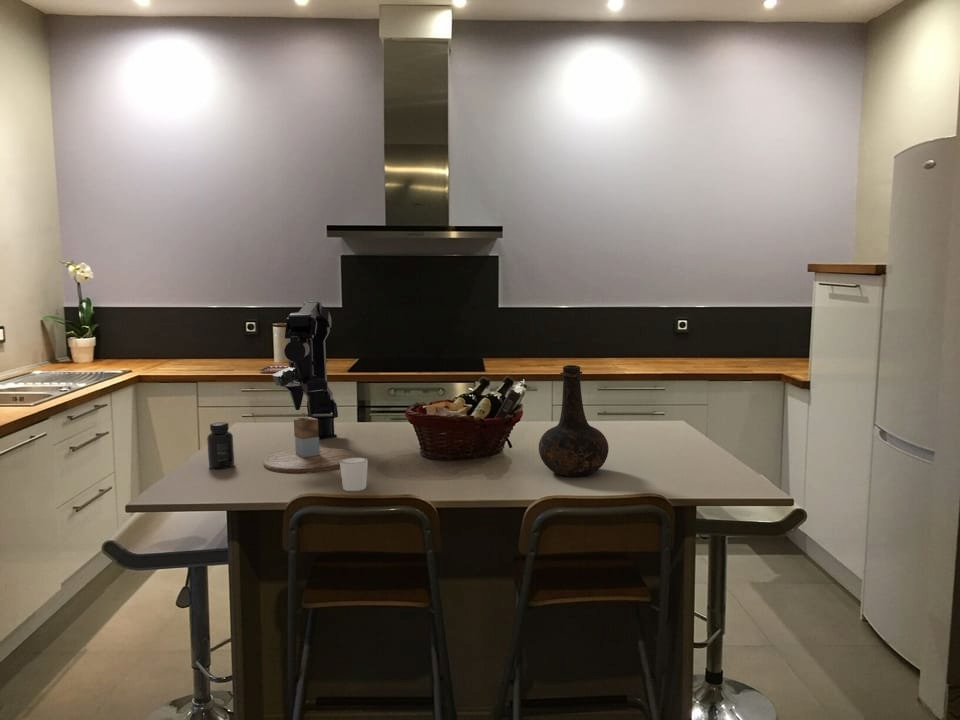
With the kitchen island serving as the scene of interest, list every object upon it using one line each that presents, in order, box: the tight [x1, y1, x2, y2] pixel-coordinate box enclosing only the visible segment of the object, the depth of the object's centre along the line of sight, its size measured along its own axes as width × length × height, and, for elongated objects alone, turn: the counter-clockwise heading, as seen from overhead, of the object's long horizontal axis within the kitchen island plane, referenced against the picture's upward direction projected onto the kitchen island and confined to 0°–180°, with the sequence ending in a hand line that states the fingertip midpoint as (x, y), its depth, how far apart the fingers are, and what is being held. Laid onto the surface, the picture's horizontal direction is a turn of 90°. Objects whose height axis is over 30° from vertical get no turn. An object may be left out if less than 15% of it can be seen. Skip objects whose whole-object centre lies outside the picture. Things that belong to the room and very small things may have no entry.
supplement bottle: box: [206, 421, 235, 470], centre depth 232 cm, size 7×7×12 cm
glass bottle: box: [538, 364, 610, 477], centre depth 218 cm, size 18×18×28 cm
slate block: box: [294, 436, 320, 457], centre depth 240 cm, size 5×5×5 cm
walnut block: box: [293, 416, 318, 439], centre depth 240 cm, size 5×5×5 cm
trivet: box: [262, 447, 355, 474], centre depth 236 cm, size 25×25×2 cm
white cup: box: [339, 456, 369, 492], centre depth 207 cm, size 7×7×7 cm
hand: (304, 412), depth 241 cm, fingers open, 9 cm apart
